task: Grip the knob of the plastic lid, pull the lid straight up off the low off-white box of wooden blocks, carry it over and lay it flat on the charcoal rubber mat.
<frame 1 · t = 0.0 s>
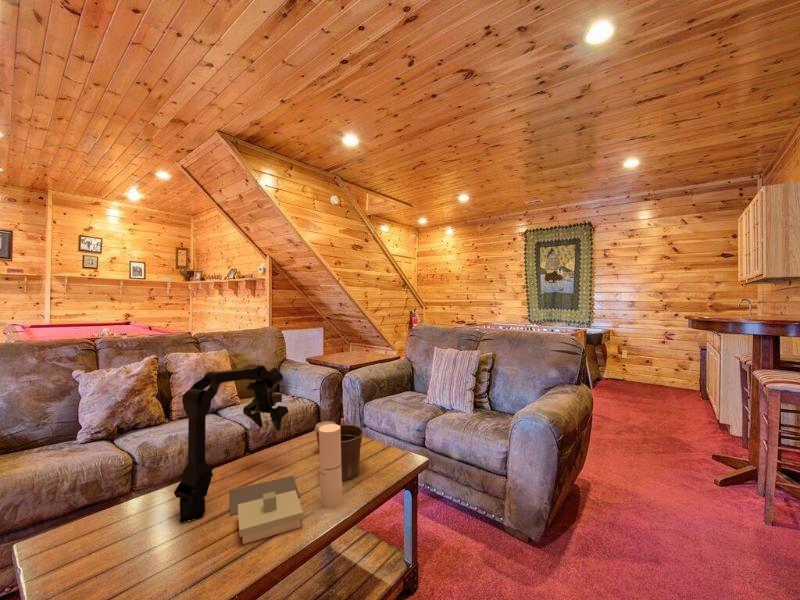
hand: (269, 428, 148), 15 cm above the table, tool pointing down, fingers open, 9 cm apart
lid: (270, 514, 112), point 3 cm above the table, touching box
disposable coffee cup: (326, 451, 161), on the table
mat: (264, 494, 129), on the table
plant pot: (343, 473, 142), on the table
cylindrical container: (331, 501, 124), on the table
box: (270, 523, 112), on the table
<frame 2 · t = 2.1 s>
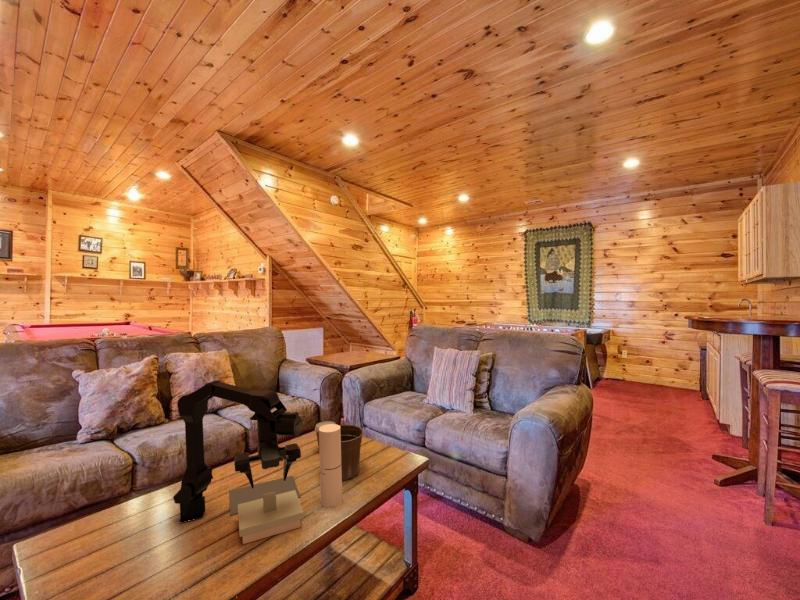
hand: (268, 484, 112), 12 cm above the table, tool pointing down, fingers open, 9 cm apart
nothing on the table moved.
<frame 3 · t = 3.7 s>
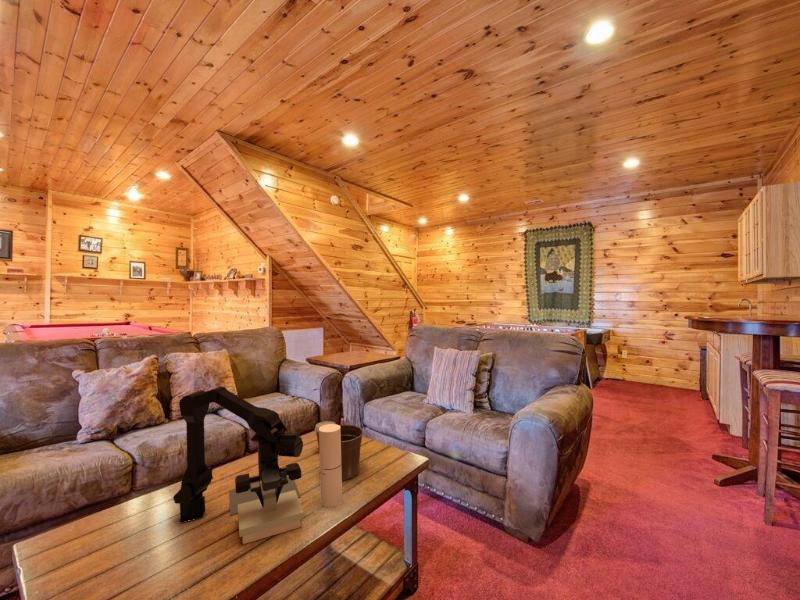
hand: (269, 504, 112), 6 cm above the table, tool pointing down, fingers closed on lid, 3 cm apart
lid: (270, 514, 112), point 3 cm above the table, touching box, gripper
everything else where it was.
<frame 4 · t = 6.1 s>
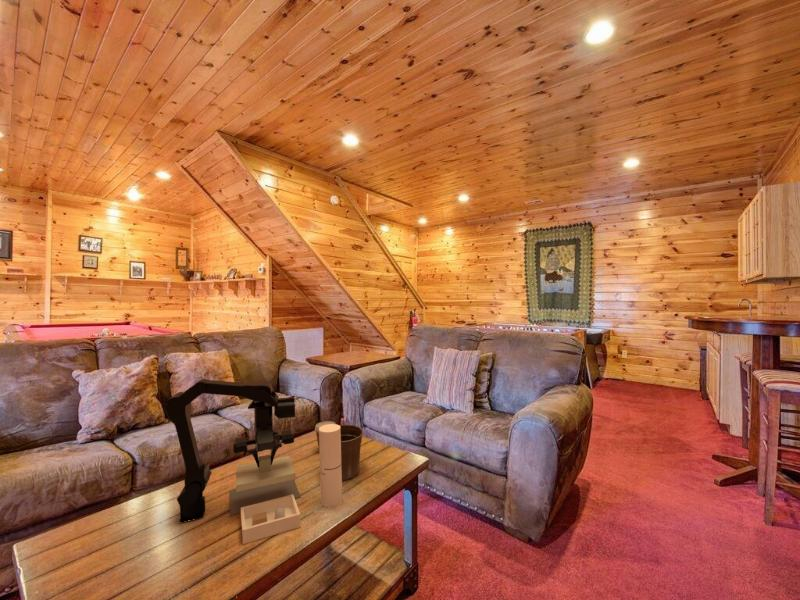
hand: (264, 465, 123), 13 cm above the table, tool pointing down, fingers closed on lid, 3 cm apart
lid: (265, 475, 123), point 10 cm above the table, touching gripper
everything else where it was.
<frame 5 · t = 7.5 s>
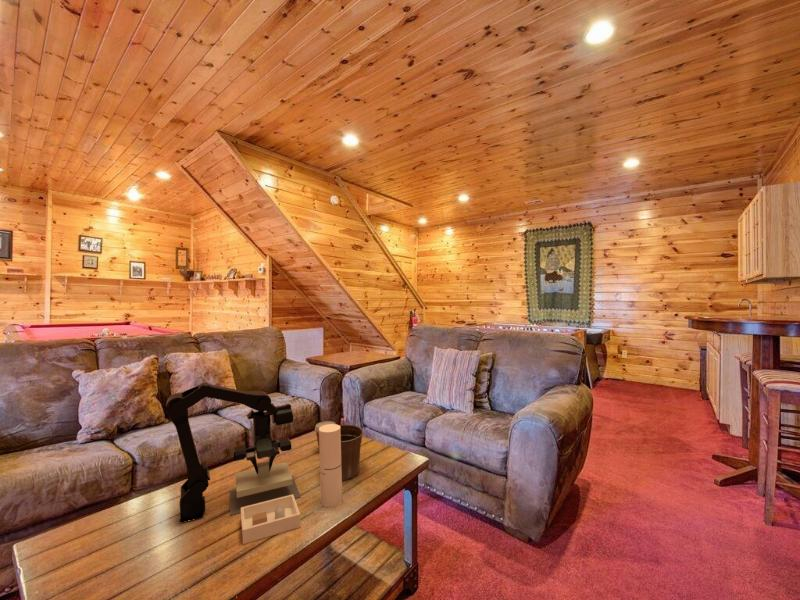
hand: (263, 472, 128), 8 cm above the table, tool pointing down, fingers closed on lid, 3 cm apart
lid: (263, 481, 128), point 5 cm above the table, touching gripper
everything else where it was.
when the fingers open (5 cm above the table, at t = 8.7 s): lid drops 1 cm, resting on mat.
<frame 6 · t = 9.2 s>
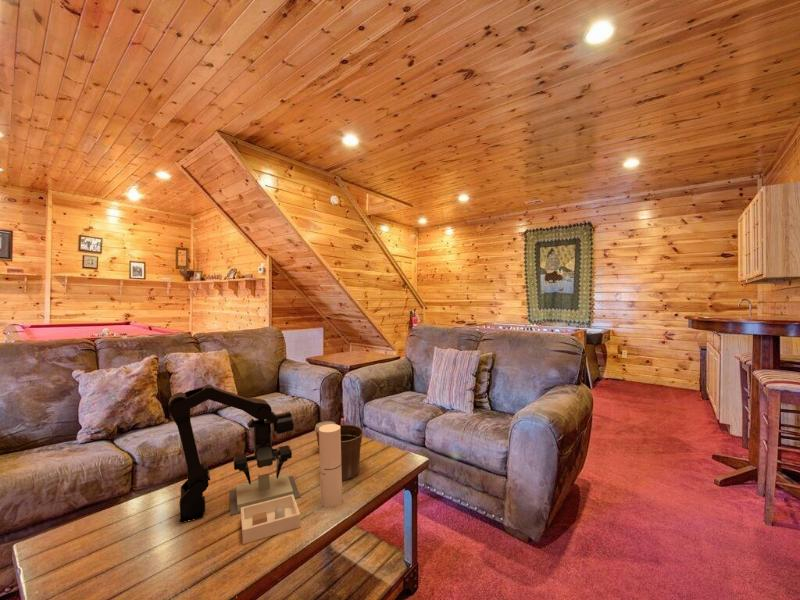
hand: (263, 480, 128), 5 cm above the table, tool pointing down, fingers open, 9 cm apart
lid: (264, 493, 128), resting on mat
everything else where it was.
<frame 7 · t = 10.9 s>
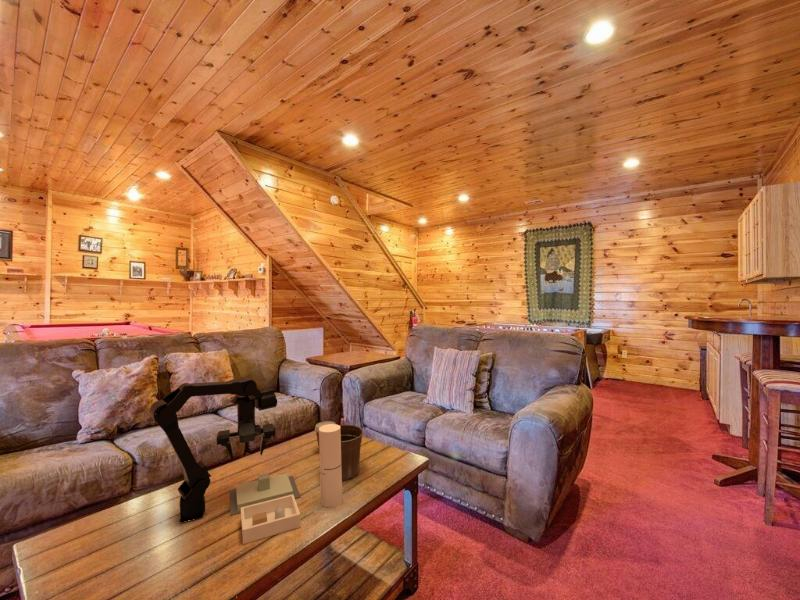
hand: (247, 457, 129), 13 cm above the table, tool pointing down, fingers open, 9 cm apart
nothing on the table moved.
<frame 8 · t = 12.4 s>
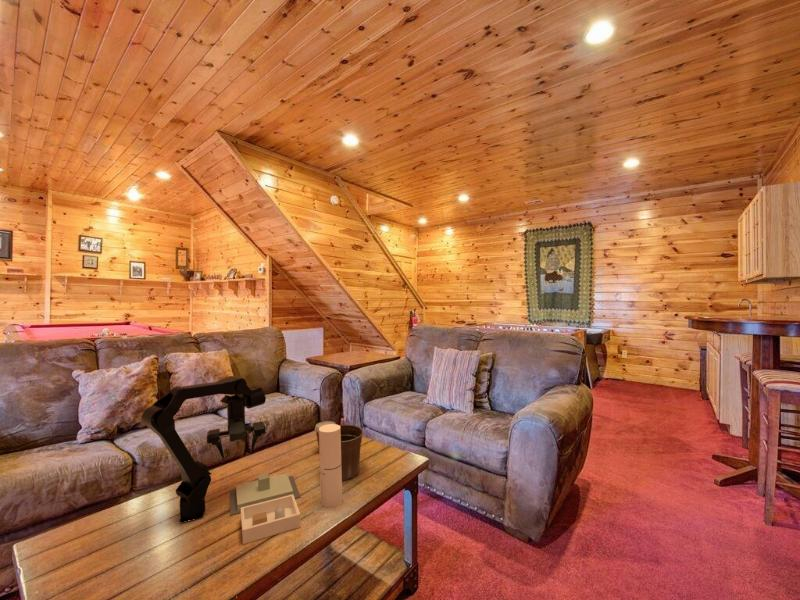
hand: (237, 455, 130), 13 cm above the table, tool pointing down, fingers open, 9 cm apart
nothing on the table moved.
at the end: lid inside the target area on the mat (0.1 cm from its centre), point 0.3 cm above the mat's base; lid tilted 0°; the gripper is holding nothing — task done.
